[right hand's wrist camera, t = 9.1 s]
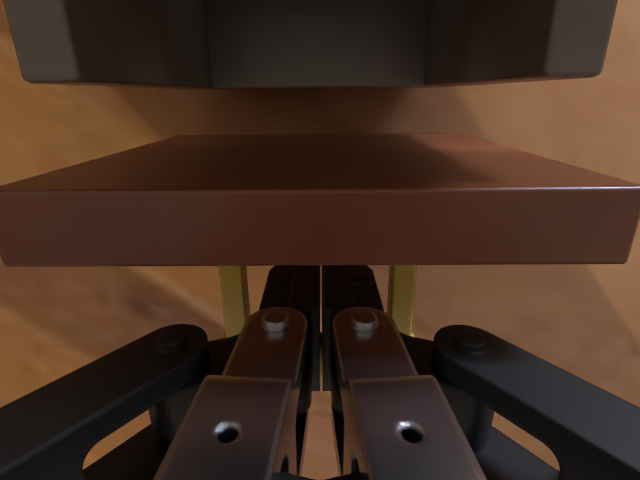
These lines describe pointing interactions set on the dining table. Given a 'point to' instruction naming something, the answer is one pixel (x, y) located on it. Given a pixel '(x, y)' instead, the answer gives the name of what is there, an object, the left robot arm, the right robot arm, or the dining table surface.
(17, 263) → the drawer
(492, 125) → the dining table surface
